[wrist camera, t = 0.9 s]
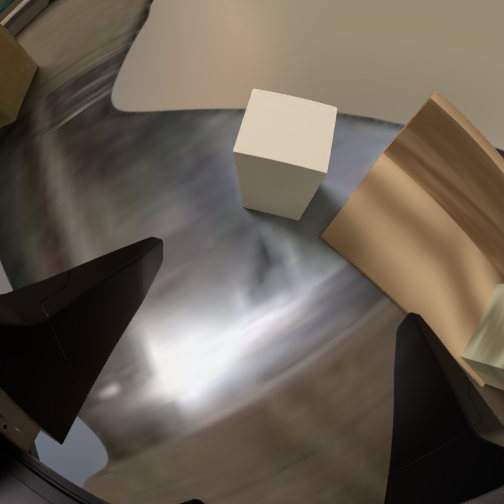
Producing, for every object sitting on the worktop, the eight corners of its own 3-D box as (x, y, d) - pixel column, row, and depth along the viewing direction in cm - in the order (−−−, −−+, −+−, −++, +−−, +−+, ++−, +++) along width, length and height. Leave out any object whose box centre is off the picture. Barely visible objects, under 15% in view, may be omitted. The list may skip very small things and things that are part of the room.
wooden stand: (479, 386, 21) (562, 417, 8) (319, 237, 23) (383, 182, 10) (522, 300, 21) (603, 298, 9) (386, 147, 24) (456, 64, 11)
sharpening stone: (-15, 70, 28) (-43, 45, 17) (-21, 64, 29) (-46, 41, 18) (72, -14, 30) (54, -45, 19) (58, -14, 31) (42, -42, 20)
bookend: (298, 220, 23) (326, 173, 13) (243, 207, 23) (233, 151, 13) (308, 175, 23) (337, 107, 13) (255, 162, 24) (253, 88, 14)
